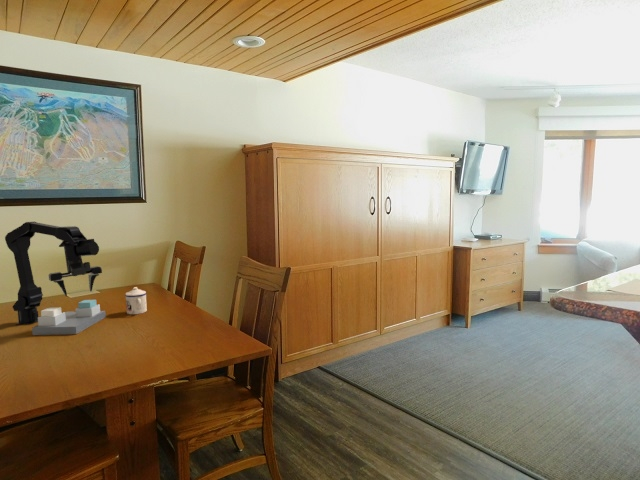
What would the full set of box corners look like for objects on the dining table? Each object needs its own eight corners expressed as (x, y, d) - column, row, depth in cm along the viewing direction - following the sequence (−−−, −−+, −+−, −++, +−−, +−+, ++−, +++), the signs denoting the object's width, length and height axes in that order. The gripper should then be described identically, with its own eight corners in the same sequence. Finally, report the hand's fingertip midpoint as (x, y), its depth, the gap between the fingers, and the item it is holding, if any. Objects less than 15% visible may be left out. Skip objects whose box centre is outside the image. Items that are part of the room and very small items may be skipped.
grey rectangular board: (32, 335, 163) (31, 318, 163) (67, 318, 186) (66, 303, 186) (76, 334, 164) (75, 317, 163) (105, 317, 186) (104, 303, 186)
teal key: (78, 309, 178) (78, 302, 178) (85, 306, 183) (84, 300, 182) (90, 309, 178) (90, 302, 178) (96, 306, 183) (96, 299, 183)
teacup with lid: (124, 311, 195) (122, 287, 194) (144, 308, 201) (143, 284, 199) (129, 317, 186) (128, 291, 184) (151, 313, 191) (149, 288, 190)
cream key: (41, 318, 166) (40, 310, 165) (49, 314, 171) (48, 307, 170) (54, 318, 166) (53, 310, 166) (61, 314, 171) (61, 307, 171)
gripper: (50, 261, 162) (56, 300, 163) (102, 254, 174) (107, 291, 175) (45, 260, 170) (51, 297, 171) (96, 253, 182) (101, 288, 183)
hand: (78, 293), depth 175 cm, fingers open, 9 cm apart
